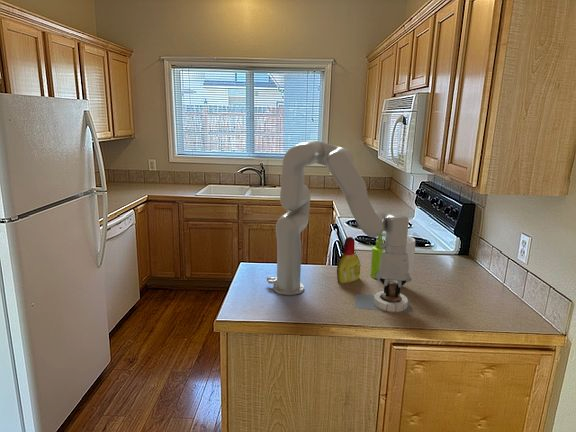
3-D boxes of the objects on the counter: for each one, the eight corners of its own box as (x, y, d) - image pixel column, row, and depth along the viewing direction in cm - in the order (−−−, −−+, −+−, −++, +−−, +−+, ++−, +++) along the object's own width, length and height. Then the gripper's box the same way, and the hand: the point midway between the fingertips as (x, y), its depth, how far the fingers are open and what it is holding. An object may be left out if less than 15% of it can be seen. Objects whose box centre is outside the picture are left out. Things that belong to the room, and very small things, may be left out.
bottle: (341, 287, 165) (344, 241, 160) (331, 282, 170) (333, 237, 165) (362, 281, 171) (365, 236, 166) (352, 276, 176) (355, 232, 171)
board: (354, 310, 146) (354, 307, 146) (355, 295, 158) (355, 293, 157) (411, 316, 142) (411, 313, 142) (408, 301, 154) (408, 298, 154)
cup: (393, 295, 159) (398, 243, 153) (380, 284, 168) (384, 235, 163) (416, 292, 161) (421, 241, 156) (402, 282, 171) (407, 234, 166)
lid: (382, 301, 146) (383, 286, 145) (382, 293, 152) (383, 279, 151) (400, 302, 145) (402, 287, 143) (399, 295, 151) (400, 280, 149)
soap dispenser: (380, 280, 172) (383, 236, 167) (367, 275, 178) (370, 232, 172) (388, 277, 176) (392, 233, 171) (376, 272, 181) (379, 230, 176)
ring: (374, 309, 145) (374, 303, 144) (373, 295, 156) (374, 289, 155) (408, 313, 142) (409, 306, 142) (405, 298, 154) (406, 292, 153)
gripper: (372, 250, 142) (369, 297, 146) (420, 253, 139) (415, 302, 143) (372, 243, 149) (369, 289, 153) (417, 246, 146) (413, 293, 150)
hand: (391, 294), depth 148 cm, fingers closed on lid, 3 cm apart
